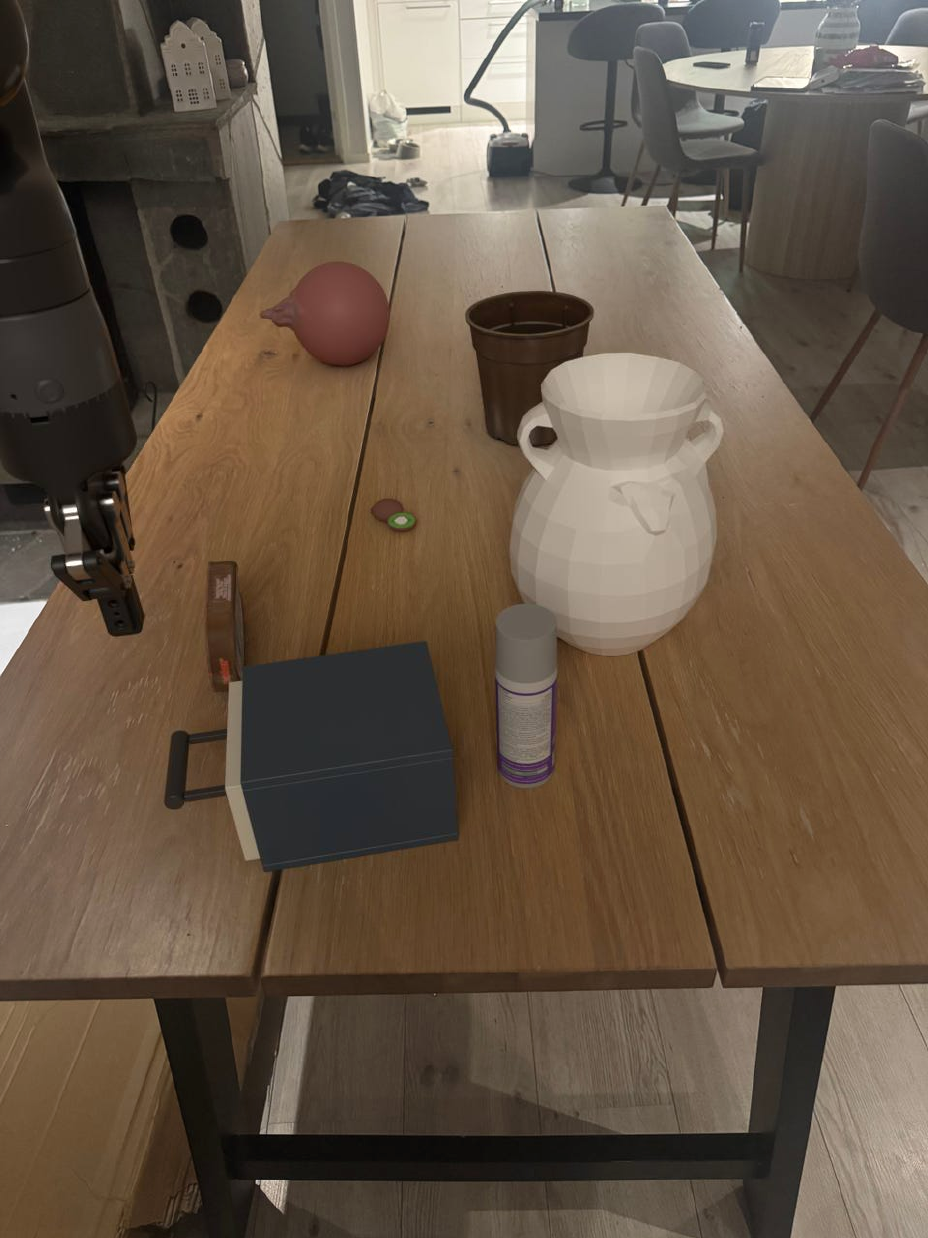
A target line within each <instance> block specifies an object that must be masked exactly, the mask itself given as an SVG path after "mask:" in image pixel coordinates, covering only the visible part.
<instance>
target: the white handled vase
mask: <svg viewBox="0 0 928 1238" xmlns="http://www.w3.org/2000/svg"><path fill="white" fill-rule="evenodd" d="M541 393H542V399H543V402H541V403H540V404H538V405H537V406H535V407H534V408H532V409H530V410H529V411H528V412H527V413H526V414H525V415H524V416H523V417H522V420H521V423H520V425H519V428H518V432H517V439H518V442H519V446H518V447H519V449H520V451H521V452H522V454H523V456H524V457H525V458H526V459H527V461H528V463H529V464H530V465H531V466H532V469H531V471H530V472H529V473H528V475H527V477H526V478H525V479H524V481H523V483H522V485H521V488H520V491H519V494H518V496H517V499H516V501H515V503H514V510H513V516H512V523H511V528H510V529H511V530H510V537H509V538H510V539H509V561H510V573H511V576H512V578H513V580H514V583H515V586H516V588H517V591H518V594H519V596H520V597H521V600H522V602H523V604H535V605H539V606H542V607H545V608H547V609H548V610H550V611H551V612H552V613H553V614H554V615H555V617H556V620H557V638H559V639H560V640H562V641H563V642H565V643H567V644H568V645H570V646H572V647H573V648H575V649H577V650H580V651H583V652H584V653H587V654H590V655H591V654H592V655H597V656H602V657H621V656H627V655H632V654H635V653H638V652H639V651H642V650H643V649H645V648H647V647H648V646H650V645H651V644H653V643H654V642H656V641H657V640H659V639H660V638H662V637H663V636H665V635H667V633H669V632H670V631H671V630H672V629H673V628H674V627H675V626H677V624H678V623H680V622H681V621H682V620H683V619H684V618H685V617H686V615H687V614H688V613H689V612H690V610H691V609H692V608H693V607H694V606H695V604H696V603H697V601H698V599H699V598H700V596H701V594H702V593H703V591H704V589H705V587H706V585H707V584H708V580H709V575H710V571H711V567H712V563H713V558H714V554H715V549H716V544H717V541H718V526H717V511H716V505H715V499H714V496H713V493H712V489H711V487H710V483H709V478H708V470H707V461H708V460H709V458H710V457H711V456H712V455H713V454H714V452H715V451H716V450H717V449H718V448H719V446H720V445H721V441H722V439H723V435H724V433H725V430H724V427H723V423H722V422H723V421H722V418H721V414H720V413H719V412H718V410H717V409H716V408H715V407H714V406H713V404H712V403H711V402H710V401H709V400H708V399H707V397H708V393H707V385H706V383H705V381H704V380H703V378H702V377H700V375H699V374H698V373H697V372H696V371H695V370H693V369H692V368H690V367H688V366H686V365H685V364H683V363H681V362H679V361H676V360H671V359H668V358H664V357H660V356H655V355H654V356H653V355H647V354H640V353H634V352H611V353H599V354H593V355H587V356H583V357H581V358H577V359H574V360H570V361H567V362H564V363H563V364H561V365H559V366H557V367H556V368H554V369H552V370H551V371H550V373H549V374H548V375H547V377H546V378H545V380H544V381H543V382H542V384H541ZM704 421H708V423H707V425H706V427H705V430H704V431H703V432H701V433H700V434H698V435H697V436H695V437H694V438H693V439H691V440H690V439H689V437H687V435H688V434H689V432H690V431H691V430H692V428H693V426H694V425H695V423H698V422H699V423H700V422H704ZM536 426H544V427H551V428H553V429H554V431H555V432H556V435H557V438H558V439H557V440H556V441H555V442H554V443H551V444H550V445H549V446H548V448H547V449H543V448H538V447H535V446H532V445H531V444H530V440H529V434H530V432H531V430H532V429H533V428H535V427H536Z"/></svg>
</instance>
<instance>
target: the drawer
mask: <svg viewBox="0 0 928 1238" xmlns="http://www.w3.org/2000/svg"><path fill="white" fill-rule="evenodd" d="M227 698H228V699H227V700H228V702H227V725H226V726H227V727H226V728H224V729H217V730H210V731H204V732H196V733H189V732H187V731H186V730H175V731H173V733H172V734H171V736H170V743H169V752H168V762H167V769H166V771H167V772H166V781H165V791H164V799H163V804H164V806H165V807H166V808H167V809H169V810H173V811H175V810H179V809H181V808H182V807H184V806H185V803H190V802H195V801H202V800H208V799H215V798H220V797H221V798H222V797H226V798H227V800H228V804H229V808H230V811H231V815H232V818H233V822H234V825H235V829H236V833H237V837H238V839H239V843H240V844H239V845H240V847H241V850H242V855H243V857H244V860H245V862H248V861H253V860H260V856H259V852H258V849H257V845H256V841H255V837H254V833H253V830H252V826H251V822H250V818H249V814H248V811H247V807H246V803H245V799H244V795H243V792H242V788H241V784H240V769H241V720H242V681H236V682H230V683H229V690H228V697H227ZM225 740H226V750H225V752H226V753H225V775H224V776H225V777H224V778H225V779H224V780H225V781H224V784H222V785H221V784H220V785H215V786H214V785H213V786H208V787H203V788H196V789H189V790H186V789H187V776H188V764H189V754H190V753H189V752H190V745H198V744H204V743H211V742H217V741H225Z"/></svg>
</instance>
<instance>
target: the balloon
mask: <svg viewBox="0 0 928 1238" xmlns="http://www.w3.org/2000/svg"><path fill="white" fill-rule="evenodd" d="M390 311H391V310H390V305H389V300H388V298H387V295H386V292H385V290H384V288H383V286H382V285H381V284H380V282H379V281H378V280H377V278H376V277H374V275H372V274H371V273H370V272H369V271H368V270H366V269H365V268H363V267H361V266H359V265H357V264H354V263H352V262H348V261H340V260H339V261H328V262H324V263H322V264H319V265H317V266H315V267H313V268H311V269H310V270H309V271H307V272H306V273H305V274H304V275H303V276H302V277H301V279H300V280H299V281H298V283H296V286H295V287H294V288H293V289H292V290H291V291H290V292H289V294H288V296H287V297H284V298H283V299H282V300H280V302H278V303H277V304H276V305H274V306H273V307H271V308H267V309H265V310H261V311H260V313H259V316H260V319H264V320H265V319H266V320H271V322H272V324H273V325H275V326H276V327H277V328H283V327H285V328H288V329H290V330H291V331H292V332H293V333H294V335H295V338H296V339H297V341H298V342H299V344H300V345H301V346H302V348H303V349H304V350H305V351H306V352H307V353H308V354H310V355H311V356H312V357H313V358H315V359H316V360H318V361H321V362H323V363H325V364H329V365H332V366H341V367H343V366H352V365H356V364H357V363H358V364H359V363H361V362H363V361H365V360H367V359H369V358H370V357H372V356H373V354H375V353H376V352H377V350H379V348H380V347H381V345H382V344H383V342H384V341H385V338H386V336H387V334H388V331H389V326H390V320H391V318H390V317H391V315H390V314H391V312H390Z"/></svg>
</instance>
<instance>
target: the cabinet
mask: <svg viewBox="0 0 928 1238" xmlns="http://www.w3.org/2000/svg"><path fill="white" fill-rule="evenodd" d="M433 666H434V665H433V662H432V658H431V653H430V649H429V645H428V641H427V640H422V641H414V642H408V643H400V644H394V645H386V646H380V647H372V648H366V649H365V648H364V649H359V650H357V649H356V650H350V651H344V652H337V653H329V654H321V655H314V656H307V657H302V658H301V657H300V658H295V659H286V660H279V661H273V662H267V663H265V662H264V663H258V664H252V665H251V664H250V665H244V666H243V671H242V720H241V769H240V784H241V788H242V792H243V795H244V799H245V803H246V807H247V811H248V814H249V818H250V822H251V826H252V830H253V833H254V837H255V841H256V845H257V849H258V852H259V856H260V859H259V860H260V863H261V868H262V871H263V873H270V872H275V871H282V870H288V869H293V868H300V867H305V866H311V865H318V864H324V863H329V862H335V861H342V860H347V859H353V858H359V857H360V858H361V857H365V856H371V855H378V854H383V853H388V852H396V851H401V850H407V849H415V848H419V847H425V846H430V845H432V846H433V845H438V844H443V843H448V842H449V843H450V842H455V841H456V842H457V841H459V828H458V827H459V825H458V812H457V811H458V809H457V796H456V781H455V766H454V765H455V763H454V749H453V746H452V741H451V737H450V734H449V729H448V724H447V721H446V720H447V719H446V715H445V713H444V707H443V703H442V699H441V695H440V691H439V687H438V683H437V678H436V674H435V670H434V667H433Z"/></svg>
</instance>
